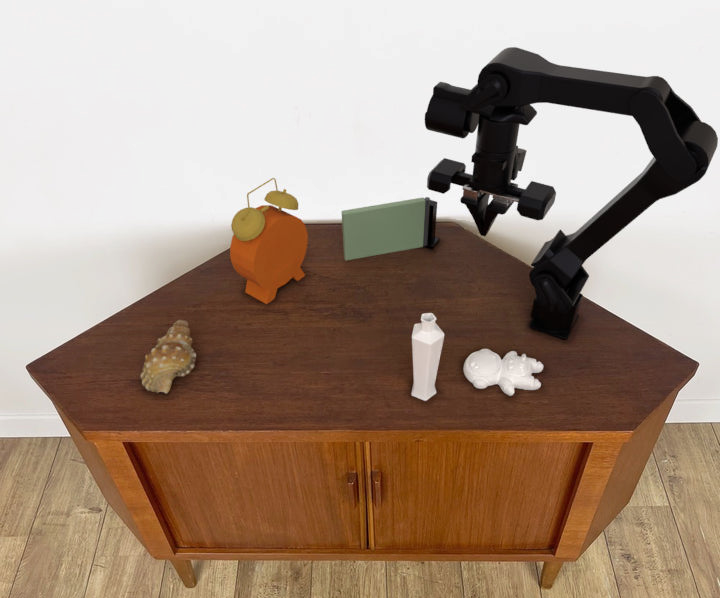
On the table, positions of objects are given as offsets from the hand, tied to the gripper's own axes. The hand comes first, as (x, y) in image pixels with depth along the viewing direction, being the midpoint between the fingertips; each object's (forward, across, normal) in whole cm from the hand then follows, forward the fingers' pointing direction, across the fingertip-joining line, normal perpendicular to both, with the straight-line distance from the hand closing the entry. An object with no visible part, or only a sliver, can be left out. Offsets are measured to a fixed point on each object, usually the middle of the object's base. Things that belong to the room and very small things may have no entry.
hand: (484, 234), depth 107 cm
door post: (+13, +14, -10) cm, 22 cm away
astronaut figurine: (+13, -11, +15) cm, 23 cm away
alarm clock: (+13, +33, +14) cm, 38 cm away
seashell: (+13, +35, +39) cm, 54 cm away
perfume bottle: (+13, -2, +24) cm, 27 cm away
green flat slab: (+12, +20, -3) cm, 24 cm away
